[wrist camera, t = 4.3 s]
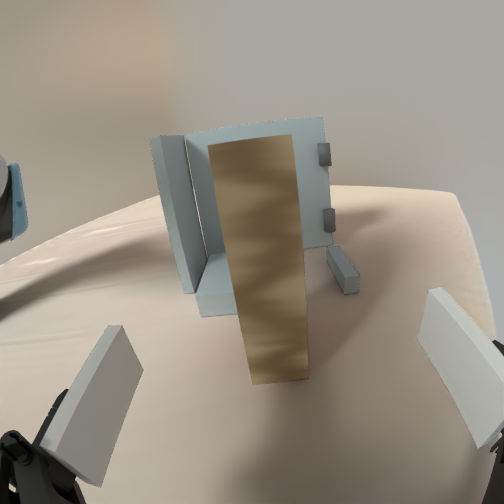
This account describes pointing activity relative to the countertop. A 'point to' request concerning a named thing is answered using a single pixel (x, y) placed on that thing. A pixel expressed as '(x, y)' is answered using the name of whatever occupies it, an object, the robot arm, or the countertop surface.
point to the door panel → (264, 252)
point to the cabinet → (185, 211)
